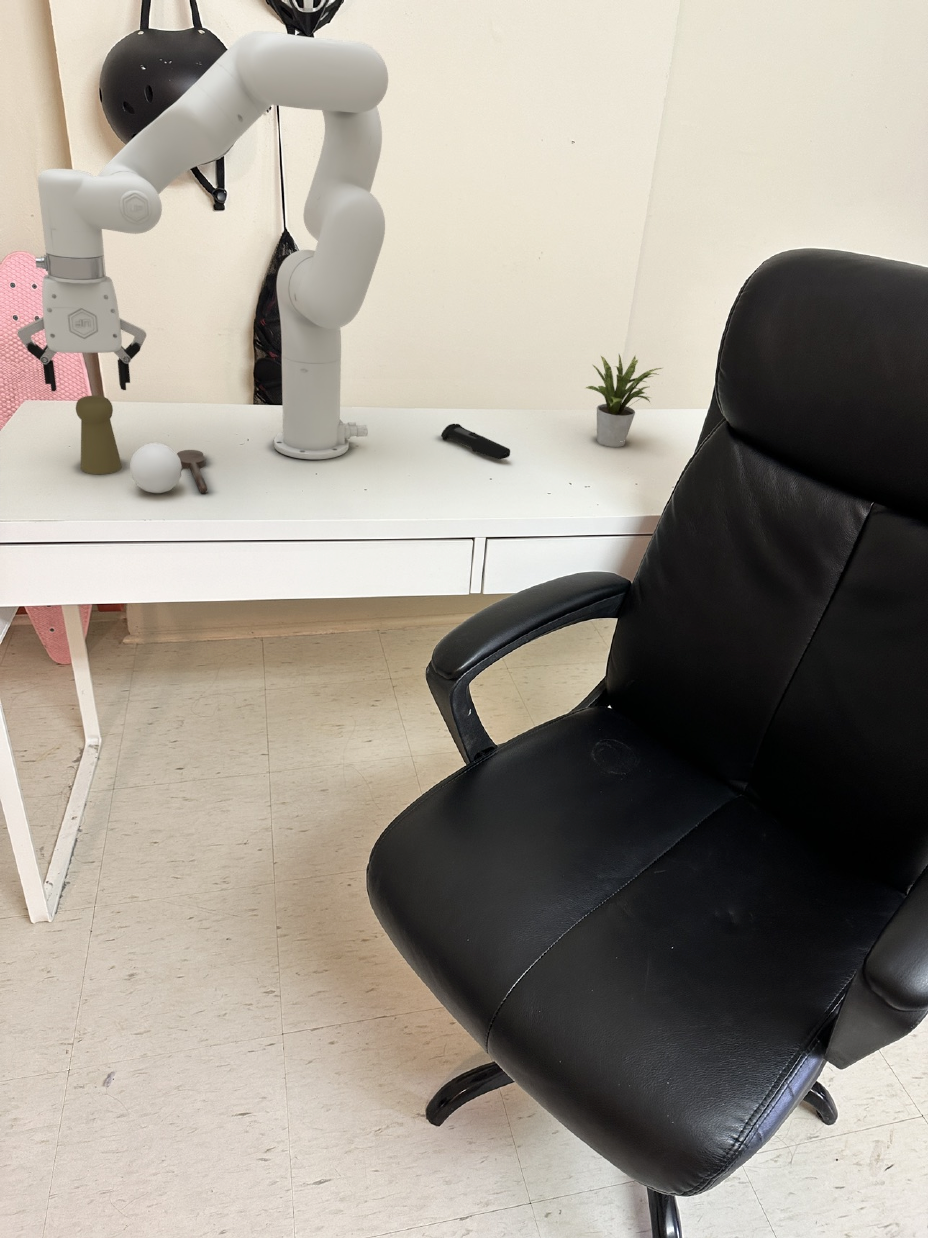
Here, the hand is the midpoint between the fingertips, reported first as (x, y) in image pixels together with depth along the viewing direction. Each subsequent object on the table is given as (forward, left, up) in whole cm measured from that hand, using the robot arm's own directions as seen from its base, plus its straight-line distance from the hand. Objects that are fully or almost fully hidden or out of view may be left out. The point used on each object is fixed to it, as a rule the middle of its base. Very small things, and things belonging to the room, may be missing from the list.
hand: (88, 388), depth 140 cm
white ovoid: (-8, +10, -13) cm, 18 cm away
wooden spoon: (-14, +5, -13) cm, 19 cm away
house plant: (-89, +5, -13) cm, 91 cm away
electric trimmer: (-62, +3, -13) cm, 64 cm away
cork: (0, 0, -13) cm, 13 cm away
